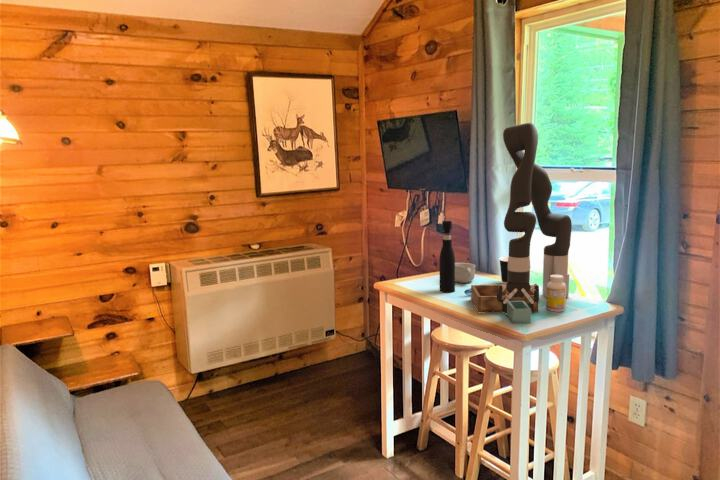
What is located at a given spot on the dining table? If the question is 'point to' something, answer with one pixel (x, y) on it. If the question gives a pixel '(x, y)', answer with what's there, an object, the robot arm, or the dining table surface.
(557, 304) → the supplement bottle
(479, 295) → the walnut crate
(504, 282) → the dixie cup
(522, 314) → the teal tote
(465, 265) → the teacup
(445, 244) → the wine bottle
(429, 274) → the dining table surface
